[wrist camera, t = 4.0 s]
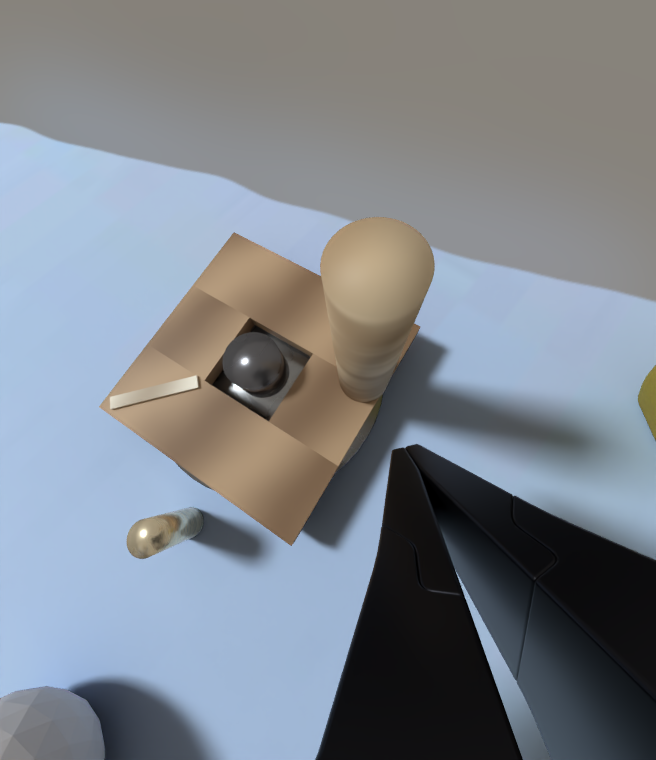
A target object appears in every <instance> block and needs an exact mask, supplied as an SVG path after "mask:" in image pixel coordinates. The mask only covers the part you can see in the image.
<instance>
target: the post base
mask: <svg viewBox="0 0 656 760" xmlns="http://www.w3.org/2000/svg"><path fill="white" fill-rule="evenodd" d="M309 359H310V356H309V355H307V354H305V353H303V352H302V351H300V350H298V349H296V348H295V347H293V346H291V345H289V344H288V343H286V342H284V341H282V340H280V339H279V338H277V337H275V336H273V335H272V334H270V333H268V332H266V331H265V330H263V329H261V328H259V327H258V326H256V325H254V326H253V328H252V329H251V331H250V332H249V333H245V334H242V335H240V336H238V337H236V338H235V339H234V340H232V341H231V342H230V344H229V345H228V346H227V348H226V350H225V352H224V355H223V361H222V364H223V370H222V372H221V373H220V374H219V376H218V377H217V379H216V380H215V381H214V383H213V384H212V385H213V386H214V387H216V388H218V389H219V390H221V391H222V392H224V393H225V394H227V395H228V396H230V397H232V398H233V399H235V400H236V401H238V402H239V403H241V404H243V405H244V406H246V407H247V408H249V409H250V410H252V411H254V412H255V413H257V414H258V415H260V416H261V417H263V418H264V419H266V420H268V421H269V420H270V419H271V417H272V416H273V414H274V413H275V411H276V410H277V408H278V406H279V405H280V403H281V402H282V400H283V399H284V397H285V396H286V394H287V393H288V391H289V390H290V388H291V387H292V385H293V383H294V382H295V380H296V379H297V377H298V376H299V374H300V373H301V371H302V370H303V368H304V367H305V365H306V364H307V362H308V361H309ZM382 396H383V394H382V395H381V396H380V398H379V399H378V401H377V403H376V404H375V406H374V408H373V410H372V411H371V413H370V415H369V416H368V418H367V420H366V421H365V423H364V425H363V426H362V428H361V430H360V432H359V433H358V435H357V437H356V438H355V440H354V442H353V443H352V445H351V447H350V449H349V450H348V452H347V454H346V455H345V457H344V459H343V460H342V462H341V464H340V466H339V467H338V469H337V471H338V470H340V469H341V468H342V467H343V466H344V465H345V464H346V463H348V462H349V460H350V459H351V458H352V457H353V456H354V455H355V454H356V453H357V451H358V450H359V449H360V447H361V446H362V444H363V443H364V441H365V440H366V438H367V437H368V435H369V433H370V431H371V429H372V427H373V425H374V423H375V421H376V418H377V415H378V412H379V409H380V406H381V401H382ZM175 463H176V462H175ZM176 464H177V463H176ZM177 465H178V466H179V467H180V468H181V469H182V470H183V471H184V472H185V473H187V474H188V475H189V476H190V477H191V478H192V479H194V480H196V481H197V482H199V483H201V484H202V485H204V486H205V487H207V488H210V487H209V486H208V485H206V484H205V483H204V482H202V481H201V480H199V479H198V478H197V477H195V476H194V475H193V474H191V473H190V472H188V471H187V470H186V469H184V468H183V467H181V466H180V465H179V464H177ZM337 471H336V472H337ZM336 472H335V473H336ZM210 489H212V488H210ZM212 490H213V489H212ZM214 491H215V490H214ZM202 527H203V516H202V513H201V512H200V511H199V510H198V509H196V508H193V507H189V508H185V509H181V510H177V511H173V512H169V513H165V514H161V515H158V516H154V517H150V518H146V519H142V520H140V521H138V522H136V523H135V524H134V525H133V526H132V527H131V529H130V530H129V532H128V536H127V547H128V550H129V552H130V553H131V554H132V555H133V556H134V557H136V558H139V559H144V558H148V557H150V556H152V555H155V554H157V553H159V552H161V551H164V550H166V549H168V548H170V547H172V546H175V545H177V544H179V543H181V542H184V541H186V540H188V539H190V538H193V537H195V536H196V535H197V534H199V532H200V531H201V529H202Z"/></svg>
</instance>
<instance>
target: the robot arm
mask: <svg viewBox="0 0 656 760" xmlns="http://www.w3.org/2000/svg"><path fill="white" fill-rule="evenodd" d="M455 570H456V571H455ZM456 572H457V573H458V575H459V577H460V579H461V581H462V583H463V584H464V586H465V588H466V590H467V592H468V594H469V595H470V597H471V599H472V601H473V603H474V605H475V607H476V608H477V610H478V612H479V614H480V616H481V618H482V619H483V621H484V623H485V625H486V627H487V629H488V630H489V632H490V634H491V636H492V638H493V640H494V642H495V643H496V645H497V647H498V649H499V651H500V653H501V654H502V656H503V658H504V660H505V662H506V664H507V666H508V667H509V669H510V671H511V673H512V675H513V677H514V678H515V680H516V681H517V684H518V686H519V688H520V690H521V691H522V693H523V695H524V697H525V699H526V701H527V704H528V706H529V708H530V710H531V712H532V714H533V717H534V719H535V721H536V724H537V726H538V729H539V731H540V733H541V736H542V738H543V741H544V743H545V746H546V748H547V750H548V753H549V755H550V758H551V760H656V560H654V559H651V558H649V557H647V556H644V555H642V554H640V553H638V552H635V551H633V550H631V549H628V548H626V547H624V546H622V545H619V544H617V543H615V542H612V541H610V540H608V539H606V538H603V537H601V536H599V535H596V534H594V533H592V532H590V531H587V530H585V529H583V528H580V527H578V526H576V525H574V524H572V523H569V522H567V521H565V520H563V519H561V518H558V517H556V516H554V515H552V514H550V513H548V512H546V511H544V510H542V509H540V508H538V507H536V506H534V505H532V504H530V503H528V502H526V501H524V500H522V499H520V498H519V497H517V496H513V495H512V494H510V493H508V492H506V491H505V490H503V489H501V488H499V487H497V486H495V485H493V484H492V483H490V482H488V481H486V480H484V479H482V478H480V477H478V476H477V475H475V474H473V473H471V472H469V471H467V470H465V469H463V468H462V467H460V466H458V465H456V464H454V463H452V462H450V461H449V460H447V459H445V458H443V457H441V456H439V455H437V454H435V453H434V452H432V451H430V450H428V449H426V448H424V447H422V446H420V445H418V444H415V445H411V446H407V447H406V448H398V449H394V450H392V454H391V462H390V469H389V477H388V484H387V491H386V499H385V506H384V514H383V521H382V527H381V534H380V540H379V546H378V552H377V556H376V560H375V564H374V568H373V572H372V575H371V579H370V582H369V585H368V589H367V592H366V595H365V599H364V602H363V605H362V609H361V612H360V615H359V619H358V622H357V625H356V629H355V632H354V635H353V639H352V642H351V645H350V648H349V652H348V655H347V658H346V662H345V665H344V668H343V672H342V675H341V678H340V682H339V685H338V688H337V692H336V695H335V698H334V702H333V705H332V708H331V712H330V715H329V718H328V722H327V725H326V728H325V732H324V735H323V738H322V742H321V745H320V748H319V752H318V754H317V757H316V759H315V760H523V759H522V756H521V753H520V750H519V748H518V745H517V742H516V739H515V736H514V733H513V731H512V728H511V725H510V722H509V719H508V717H507V714H506V711H505V708H504V705H503V703H502V700H501V697H500V694H499V691H498V689H497V686H496V683H495V680H494V677H493V675H492V672H491V669H490V666H489V663H488V661H487V658H486V655H485V652H484V649H483V647H482V644H481V641H480V638H479V635H478V632H477V630H476V627H475V624H474V621H473V618H472V616H471V613H470V610H469V607H468V604H467V602H466V599H465V597H464V594H463V591H462V588H461V585H460V582H459V580H458V577H457V574H456Z"/></svg>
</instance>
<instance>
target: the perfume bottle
mask: <svg viewBox="0 0 656 760" xmlns="http://www.w3.org/2000/svg"><path fill="white" fill-rule="evenodd" d="M0 760H105V747H104V740H103V735H102V730H101V724H100V720H99V718H98V717H97V715H96V714H95V712H94V711H93V709H92V708H91V706H90V705H89V703H88V702H87V700H85V699H83V698H81V697H80V696H78V695H76V694H74V693H72V692H70V691H68V690H65V689H60V688H54V687H48V686H45V687H39V688H33V689H26V690H20V691H15V692H13V693H10V694H8V695H6V696H4V697H2V698H0Z"/></svg>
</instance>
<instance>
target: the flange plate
mask: <svg viewBox="0 0 656 760" xmlns="http://www.w3.org/2000/svg"><path fill="white" fill-rule="evenodd" d="M320 271H321V276H319V275H317V274H315V273H313V272H311V271H309V270H307V269H305V268H303V267H301V266H299V265H297V264H295V263H293V262H292V261H290V260H288V259H286V258H284V257H282V256H280V255H278V254H276V253H274V252H272V251H270V250H268V249H266V248H264V247H262V246H260V245H258V244H256V243H254V242H252V241H250V240H248V239H246V238H244V237H242V236H240V235H238V234H236V233H233V234H232V236H231V237H230V238H229V239H228V241H227V242H226V243H225V245H224V246H223V247H222V248H221V250H220V251H219V252H218V254H217V255H216V256H215V257H214V259H213V260H212V261H211V263H210V264H209V265H208V267H207V268H206V269H205V270H204V272H203V273H202V274H201V276H200V277H199V278H198V279H197V281H196V282H195V283H194V285H193V286H192V287H191V289H190V290H189V291H188V292H187V294H186V295H185V296H184V298H183V299H182V300H181V301H180V303H179V304H178V305H177V307H176V308H175V309H174V310H173V312H172V313H171V314H170V316H169V317H168V318H167V320H166V321H165V322H164V323H163V325H162V326H161V327H160V329H159V330H158V331H157V332H156V334H155V335H154V336H153V338H152V339H151V340H150V342H149V343H148V344H147V345H146V347H145V348H144V349H143V351H142V352H141V353H140V354H139V356H138V357H137V358H136V360H135V361H134V362H133V363H132V365H131V366H130V367H129V369H128V370H127V371H126V373H125V374H124V375H123V376H122V378H121V379H120V380H119V382H118V383H117V384H116V385H115V387H114V388H113V389H112V391H111V392H110V393H109V395H108V396H107V397H106V398H105V400H104V401H103V402H102V404H101V405H100V406H99V407H100V408H101V409H103V410H104V411H105V412H107V413H108V414H110V415H111V416H112V417H114V418H115V419H116V420H118V421H119V422H121V423H122V424H123V425H125V426H126V427H128V428H129V429H130V430H132V431H133V432H134V433H136V434H137V435H139V436H140V437H141V438H143V439H144V440H146V441H147V442H148V443H150V444H151V445H152V446H154V447H155V448H157V449H158V450H159V451H161V452H162V453H163V454H165V455H166V456H168V457H169V458H170V459H172V460H173V461H175V462H176V463H177V464H179V465H180V466H181V467H183V468H184V469H186V470H187V471H188V472H190V473H191V474H193V475H194V476H195V477H197V478H198V479H199V480H201V481H202V482H204V483H205V484H206V485H208V486H209V487H210V488H212V489H213V490H215V491H216V492H217V493H219V494H220V495H222V496H223V497H224V498H226V499H227V500H228V501H230V502H231V503H233V504H234V505H235V506H237V507H238V508H240V509H241V510H242V511H244V512H245V513H246V514H248V515H249V516H251V517H252V518H253V519H255V520H256V521H257V522H259V523H260V524H262V525H263V526H264V527H266V528H267V529H269V530H270V531H271V532H273V533H274V534H275V535H277V536H278V537H280V538H281V539H282V540H284V541H285V542H287V543H288V544H289V545H291V546H292V544H293V543H294V542H295V540H296V539H297V537H298V535H299V533H300V532H301V530H302V528H303V527H304V525H305V523H306V522H307V520H308V518H309V516H310V515H311V513H312V511H313V510H314V508H315V506H316V505H317V503H318V501H319V499H320V498H321V496H322V494H323V493H324V491H325V489H326V488H327V486H328V484H329V483H330V481H331V479H332V477H333V476H334V474H335V472H336V471H337V469H338V467H339V466H340V464H341V462H342V460H343V459H344V457H345V455H346V454H347V452H348V450H349V449H350V447H351V445H352V443H353V442H354V440H355V438H356V437H357V435H358V433H359V432H360V430H361V428H362V426H363V425H364V423H365V421H366V420H367V418H368V416H369V415H370V413H371V411H372V410H373V408H374V406H375V404H376V403H377V401H378V399H379V398H380V396H381V395H382V394H383V393H384V391H385V390H386V388H387V385H388V383H389V381H390V379H391V377H392V376H393V374H394V372H395V370H396V369H397V367H398V365H399V364H400V362H401V360H402V359H403V357H404V355H405V353H406V352H407V350H408V348H409V347H410V345H411V343H412V342H413V340H414V338H415V337H416V335H417V333H418V331H419V329H420V326H418V325H416V324H414V322H415V319H416V317H417V315H418V312H419V310H420V308H421V305H422V303H423V301H424V298H425V296H426V294H427V291H428V289H429V287H430V284H431V282H432V279H433V275H434V257H433V253H432V250H431V248H430V246H429V244H428V242H427V241H426V239H425V238H424V237H423V236H422V235H421V234H420V233H419V232H418V231H417V230H416V229H414V228H413V227H411V226H410V225H408V224H406V223H404V222H402V221H399V220H396V219H391V218H385V217H372V218H365V219H361V220H358V221H355V222H352V223H350V224H348V225H346V226H345V227H343V228H342V229H340V230H339V231H338V232H337V233H336V234H335V235H334V236H333V237H332V238H331V239H330V240H329V242H328V243H327V245H326V247H325V249H324V251H323V254H322V257H321V264H320ZM254 325H256V326H258V327H259V328H261V329H263V330H265V331H266V332H268V333H270V334H272V335H273V336H275V337H277V338H279V339H280V340H282V341H284V342H286V343H288V344H289V345H291V346H293V347H295V348H296V349H298V350H300V351H302V352H303V353H305V354H307V355H309V356H310V359H309V361H308V362H307V364H306V365H305V367H304V368H303V370H302V371H301V373H300V374H299V376H298V377H297V379H296V380H295V382H294V383H293V385H292V387H291V388H290V390H289V391H288V393H287V394H286V396H285V397H284V399H283V400H282V402H281V403H280V405H279V406H278V408H277V410H276V411H275V413H274V414H273V416H272V417H271V419H270V420H269V421H268V420H266V419H264V418H263V417H261V416H260V415H258V414H257V413H255V412H254V411H252V410H250V409H249V408H247V407H246V406H244V405H243V404H241V403H239V402H238V401H236V400H235V399H233V398H232V397H230V396H228V395H227V394H225V393H224V392H222V391H221V390H219V389H218V388H216V387H214V386H213V385H212V384H213V383H214V381H215V380H216V379H217V377H218V376H219V374H220V373H221V372H222V370H223V364H222V361H223V355H224V352H225V350H226V348H227V346H228V345H229V344H230V342H231V341H232V340H234V339H235V338H236V337H238V336H240V335H242V334H245V333H249V332H250V331H251V329H252V328H253V326H254Z"/></svg>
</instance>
